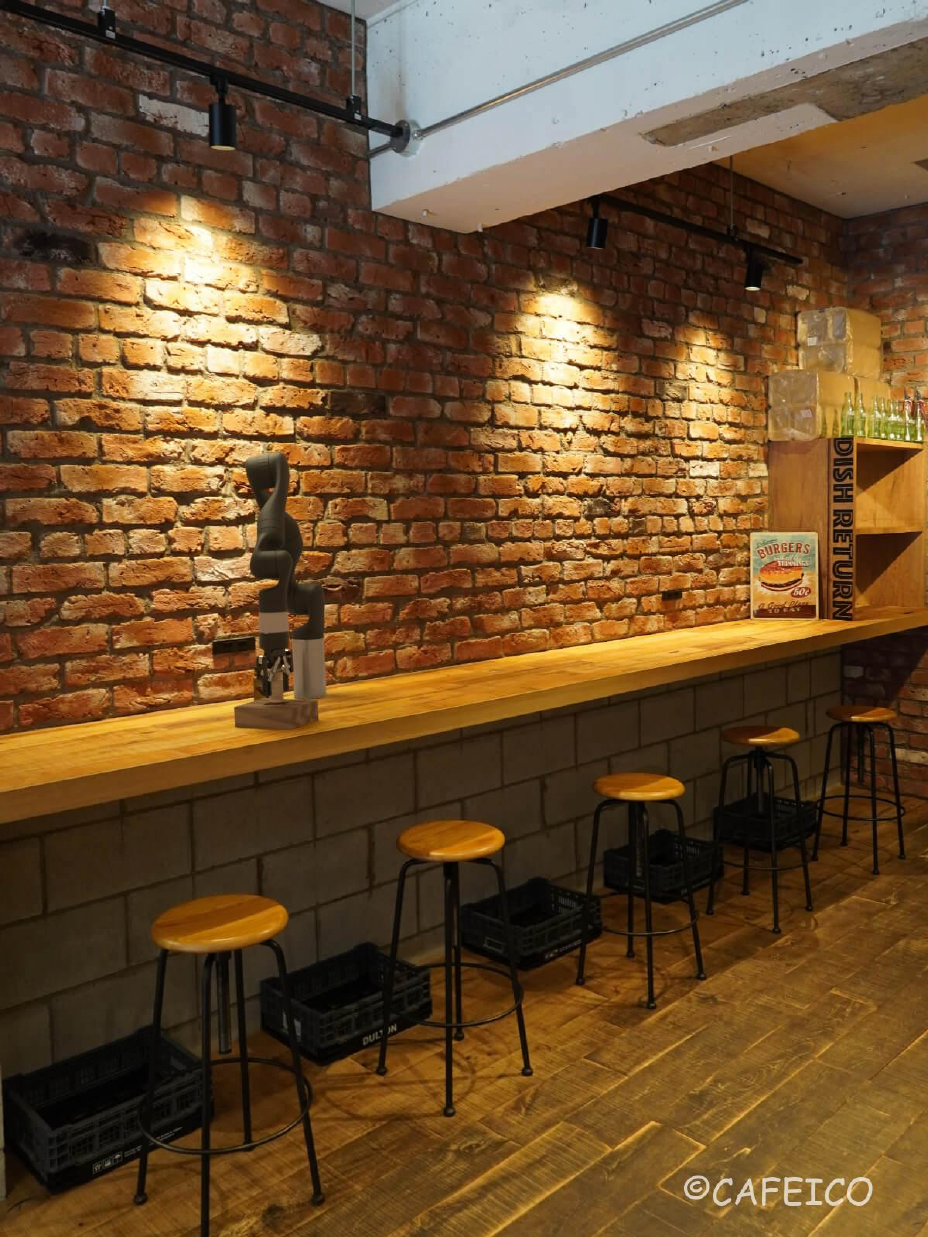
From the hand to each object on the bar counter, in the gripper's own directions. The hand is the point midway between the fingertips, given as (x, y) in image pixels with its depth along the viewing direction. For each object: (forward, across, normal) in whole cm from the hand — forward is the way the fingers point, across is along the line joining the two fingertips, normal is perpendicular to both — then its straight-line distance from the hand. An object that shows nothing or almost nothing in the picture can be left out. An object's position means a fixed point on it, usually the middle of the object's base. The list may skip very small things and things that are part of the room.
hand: (276, 693), depth 265 cm
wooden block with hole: (+8, 0, 0) cm, 8 cm away
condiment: (+8, -18, -15) cm, 25 cm away
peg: (+8, 0, 0) cm, 8 cm away
